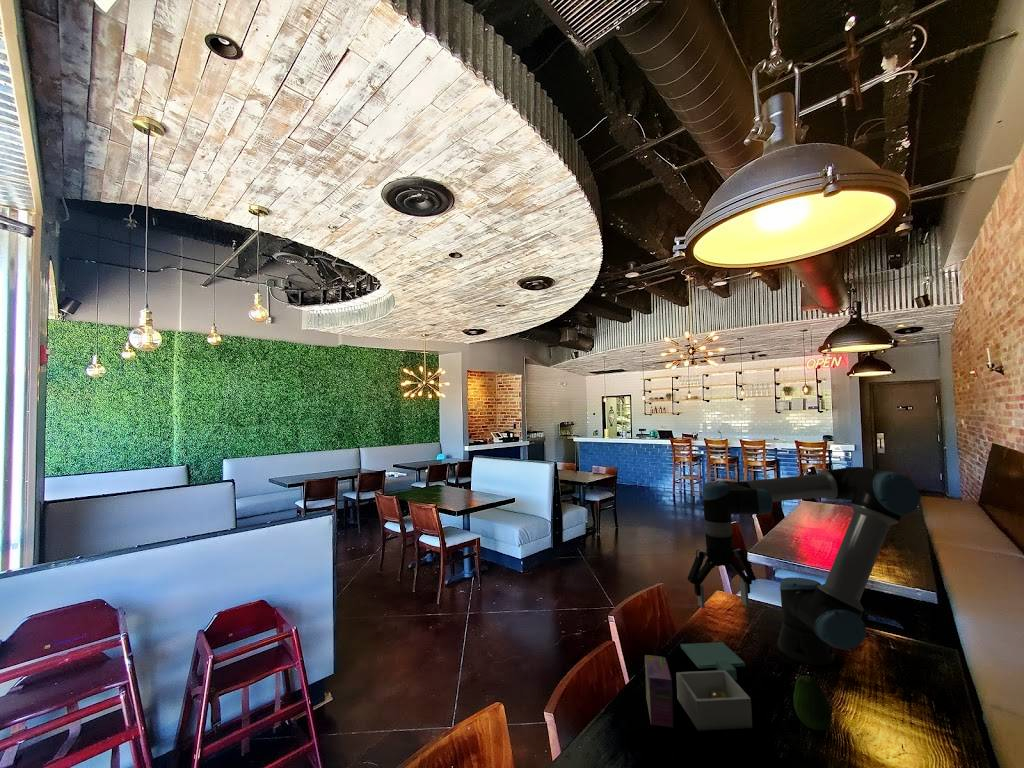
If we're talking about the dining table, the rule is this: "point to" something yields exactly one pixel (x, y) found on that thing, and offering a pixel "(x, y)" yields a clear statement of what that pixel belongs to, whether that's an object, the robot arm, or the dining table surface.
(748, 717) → the tub
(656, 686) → the box
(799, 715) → the avocado
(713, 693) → the brass roller
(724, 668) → the lid
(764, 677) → the dining table surface
